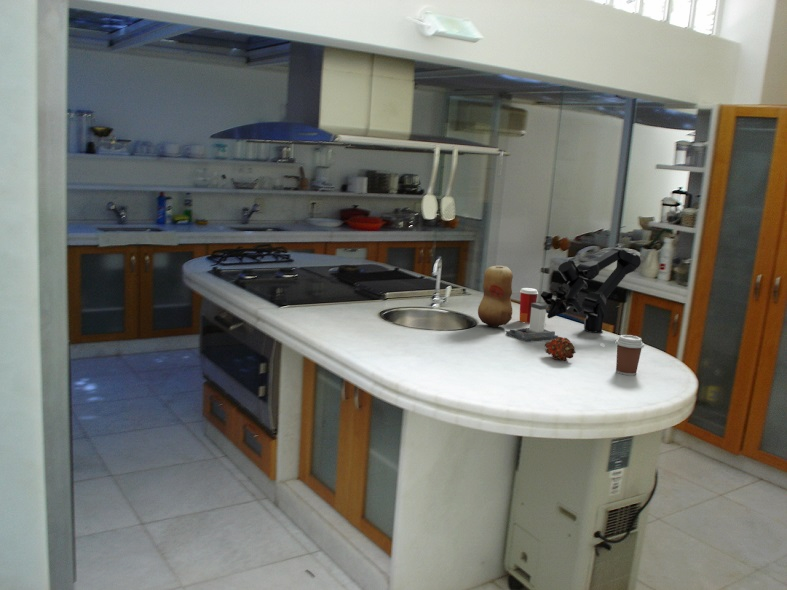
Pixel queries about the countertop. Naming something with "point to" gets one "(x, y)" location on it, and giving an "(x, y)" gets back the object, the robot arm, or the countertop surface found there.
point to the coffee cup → (628, 354)
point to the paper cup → (527, 303)
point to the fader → (537, 318)
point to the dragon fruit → (560, 348)
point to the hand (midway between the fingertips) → (548, 317)
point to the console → (531, 335)
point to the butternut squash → (496, 296)
